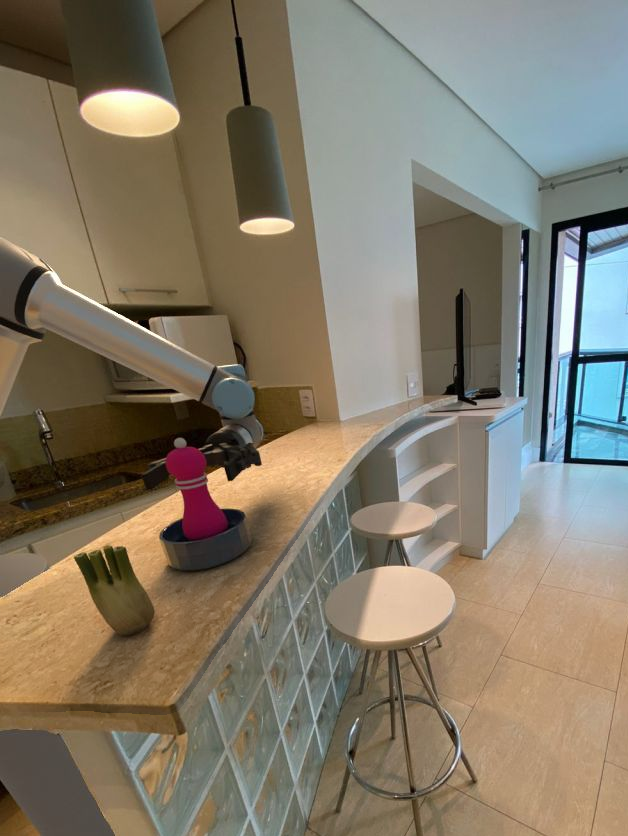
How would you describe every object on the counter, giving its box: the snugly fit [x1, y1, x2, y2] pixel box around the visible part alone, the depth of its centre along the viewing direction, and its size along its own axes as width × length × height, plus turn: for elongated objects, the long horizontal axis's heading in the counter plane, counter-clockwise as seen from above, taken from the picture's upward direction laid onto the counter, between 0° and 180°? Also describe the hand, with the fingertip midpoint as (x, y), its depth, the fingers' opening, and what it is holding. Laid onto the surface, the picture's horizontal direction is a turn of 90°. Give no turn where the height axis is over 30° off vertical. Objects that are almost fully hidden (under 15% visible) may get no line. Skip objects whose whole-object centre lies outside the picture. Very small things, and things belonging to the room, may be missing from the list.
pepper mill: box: [165, 437, 228, 541], centre depth 69 cm, size 7×7×20 cm
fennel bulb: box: [73, 545, 156, 636], centre depth 52 cm, size 6×5×12 cm
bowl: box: [158, 507, 253, 571], centre depth 72 cm, size 14×14×6 cm
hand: (186, 477), depth 67 cm, fingers open, 13 cm apart
